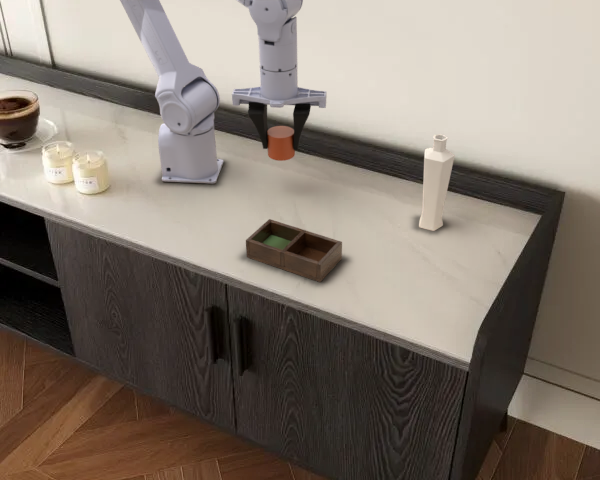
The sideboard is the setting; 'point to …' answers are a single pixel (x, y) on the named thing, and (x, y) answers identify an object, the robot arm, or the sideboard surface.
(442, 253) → the sideboard surface
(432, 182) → the white vase
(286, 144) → the orange cylinder
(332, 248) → the divided tray
